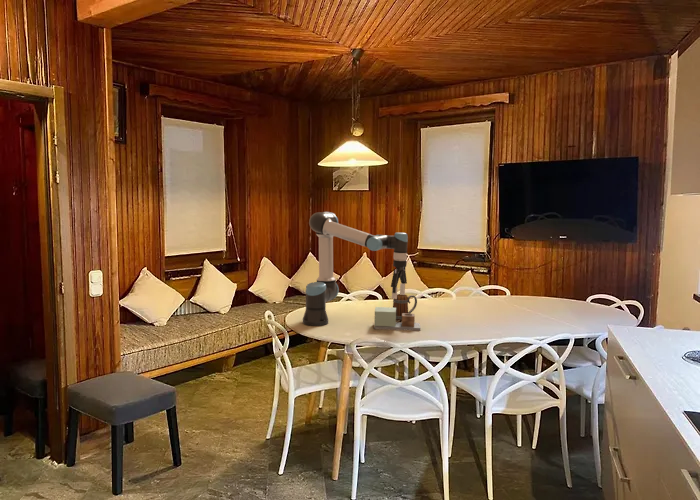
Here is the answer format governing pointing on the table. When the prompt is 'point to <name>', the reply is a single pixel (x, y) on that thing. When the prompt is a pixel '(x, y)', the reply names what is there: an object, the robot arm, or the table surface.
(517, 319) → the table surface
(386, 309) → the cover
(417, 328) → the housing base
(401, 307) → the mug
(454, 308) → the table surface
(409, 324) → the brown wooden cup
